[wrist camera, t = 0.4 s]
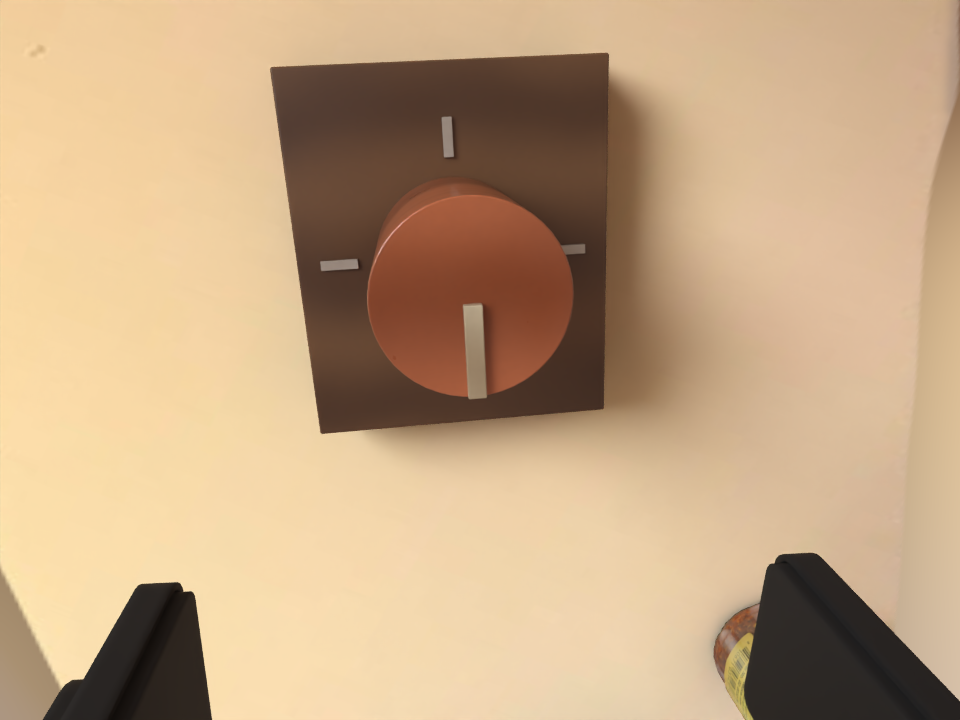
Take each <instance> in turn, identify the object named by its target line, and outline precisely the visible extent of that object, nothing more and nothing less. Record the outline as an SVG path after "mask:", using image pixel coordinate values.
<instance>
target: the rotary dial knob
mask: <svg viewBox="0 0 960 720" xmlns="http://www.w3.org/2000/svg"><path fill="white" fill-rule="evenodd" d="M573 294H574V292H573V279H572V274H571V270H570V266H569V263H568V260H567V257H566V254H565V253H564V251H563V249H562V247H561V245H560V243H559V241H558V240H557V238H556V237H555V236H554V234H553V233H552V231H551V230H550V229H549V228H548V227H547V226H546V225H545V224H544V223H543V222H542V221H541V220H540V219H538V218H537V217H536V216H535V215H534V214H532V213H531V212H529V211H528V210H527V209H525V208H524V207H522V206H521V205H519V204H518V203H516V202H515V201H513V200H512V199H510V198H509V197H508V196H506V195H505V194H503V193H502V192H500V191H499V190H497V189H495V188H494V187H492V186H490V185H488V184H486V183H484V182H481V181H478V180H474V179H471V178H464V177H446V178H439V179H435V180H431V181H428V182H426V183H424V184H421V185H419V186H417V187H416V188H414V189H412V190H411V191H409V192H408V193H407V194H405V195H404V196H403V197H402V198H401V199H400V200H399V201H398V202H397V203H396V204H395V205H394V206H393V208H392V209H391V211H390V212H389V213H388V215H387V217H386V219H385V221H384V222H383V225H382V228H381V230H380V233H379V238H378V242H377V246H376V250H375V255H374V259H373V263H372V268H371V272H370V276H369V281H368V290H367V307H368V314H369V319H370V323H371V326H372V330H373V333H374V335H375V337H376V339H377V342H378V344H379V346H380V347H381V349H382V350H383V352H384V353H385V355H386V356H387V358H388V359H389V360H390V361H391V362H392V364H393V365H394V366H395V367H396V368H397V369H398V370H400V371H401V372H402V373H403V374H404V375H405V376H407V377H408V378H410V379H411V380H413V381H414V382H416V383H417V384H419V385H421V386H423V387H425V388H427V389H430V390H433V391H436V392H439V393H443V394H447V395H452V396H462V397H468V398H469V399H479V398H487V395H490V394H494V393H497V392H501V391H504V390H506V389H509V388H511V387H514V386H516V385H517V384H519V383H521V382H523V381H524V380H526V379H527V378H529V377H530V376H532V375H533V374H534V373H536V372H537V371H538V370H539V369H540V368H541V367H542V366H543V365H544V364H545V363H546V362H547V361H548V360H549V359H550V357H551V356H552V355H553V354H554V352H555V351H556V349H557V348H558V346H559V344H560V343H561V341H562V339H563V337H564V335H565V333H566V330H567V327H568V324H569V321H570V318H571V313H572V307H573Z"/></svg>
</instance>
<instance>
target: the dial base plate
mask: <svg viewBox="0 0 960 720" xmlns="http://www.w3.org/2000/svg"><path fill="white" fill-rule="evenodd" d="M270 72H271V79H272V86H273V93H274V101H275V108H276V115H277V122H278V129H279V137H280V144H281V151H282V158H283V166H284V173H285V180H286V187H287V194H288V202H289V209H290V216H291V223H292V231H293V238H294V245H295V252H296V259H297V267H298V274H299V281H300V288H301V296H302V303H303V310H304V317H305V324H306V332H307V339H308V346H309V353H310V361H311V368H312V375H313V382H314V389H315V397H316V404H317V411H318V418H319V426H320V432H321V434H325V433H336V432H348V431H359V430H371V429H382V428H393V427H405V426H416V425H428V424H439V423H451V422H462V421H473V420H485V419H496V418H508V417H519V416H530V415H542V414H553V413H565V412H576V411H587V410H599V409H603V408H604V359H605V288H606V216H607V144H608V73H609V54H608V53H591V54H567V55H544V56H520V57H497V58H473V59H450V60H426V61H403V62H380V63H356V64H333V65H309V66H286V67H271V69H270ZM446 177H464V178H471V179H474V180H478V181H481V182H484V183H486V184H488V185H490V186H492V187H494V188H495V189H497V190H499V191H500V192H502V193H503V194H505V195H506V196H508V197H509V198H510V199H512V200H513V201H515V202H516V203H518V204H519V205H521V206H522V207H524V208H525V209H527V210H528V211H529V212H531V213H532V214H534V215H535V216H536V217H537V218H538V219H540V220H541V221H542V222H543V223H544V224H545V225H546V226H547V227H548V228H549V229H550V230H551V231H552V233H553V234H554V236H555V237H556V238H557V240H558V241H559V243H560V245H561V247H562V249H563V251H564V253H565V254H566V257H567V260H568V263H569V266H570V270H571V274H572V279H573V292H574V294H573V307H572V313H571V318H570V321H569V324H568V327H567V330H566V333H565V335H564V337H563V339H562V341H561V343H560V344H559V346H558V348H557V349H556V351H555V352H554V354H553V355H552V356H551V357H550V359H549V360H548V361H547V362H546V363H545V364H544V365H543V366H542V367H541V368H540V369H539V370H538V371H537V372H536V373H534V374H533V375H532V376H530V377H529V378H527V379H526V380H524V381H523V382H521V383H519V384H517V385H516V386H514V387H511V388H509V389H506V390H504V391H501V392H497V393H494V394H490V395H487V398H479V399H469V398H468V397H462V396H452V395H447V394H443V393H439V392H436V391H433V390H430V389H427V388H425V387H423V386H421V385H419V384H417V383H416V382H414V381H413V380H411V379H410V378H408V377H407V376H405V375H404V374H403V373H402V372H401V371H400V370H398V369H397V368H396V367H395V366H394V365H393V364H392V362H391V361H390V360H389V359H388V358H387V356H386V355H385V353H384V352H383V350H382V349H381V347H380V346H379V344H378V342H377V339H376V337H375V335H374V333H373V330H372V326H371V323H370V319H369V314H368V307H367V290H368V281H369V276H370V272H371V268H372V263H373V259H374V255H375V250H376V246H377V242H378V238H379V233H380V230H381V228H382V225H383V222H384V221H385V219H386V217H387V215H388V213H389V212H390V211H391V209H392V208H393V206H394V205H395V204H396V203H397V202H398V201H399V200H400V199H401V198H402V197H403V196H404V195H405V194H407V193H408V192H409V191H411V190H412V189H414V188H416V187H417V186H419V185H421V184H424V183H426V182H428V181H431V180H435V179H439V178H446Z"/></svg>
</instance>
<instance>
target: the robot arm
mask: <svg viewBox="0 0 960 720" xmlns="http://www.w3.org/2000/svg"><path fill="white" fill-rule="evenodd" d="M744 698H745V703H746V706H747V709H748V711H749V713H750V715H751V716H752V718H753V720H960V701H959V700H958V699H957V698H956V697H955V696H954V695H953V694H952V693H951V692H950V691H949V690H948V689H947V688H946V686H945V685H944V684H943V683H942V682H941V681H940V680H939V679H938V678H937V677H936V676H935V675H934V674H933V673H932V672H931V671H930V670H929V669H928V668H927V667H926V666H925V665H924V664H923V663H922V662H921V661H920V659H919V658H918V657H916V655H915V654H914V653H913V652H912V651H911V650H910V649H909V648H908V647H907V646H906V645H905V644H904V643H903V642H902V641H901V640H900V639H899V638H898V637H897V636H896V635H895V633H894V632H893V631H892V630H891V629H890V628H889V627H888V626H887V625H886V624H885V623H884V622H883V621H882V620H881V619H880V618H879V617H878V616H877V615H876V614H875V613H874V612H873V611H872V610H871V609H870V608H869V606H868V605H867V604H866V603H865V602H864V601H863V600H862V599H861V598H860V597H859V596H858V595H857V594H856V593H855V592H854V591H853V590H852V589H851V588H850V587H849V586H848V585H847V584H846V583H845V582H844V581H843V579H842V578H841V577H840V576H839V575H838V574H837V573H836V572H835V571H834V570H833V569H832V568H831V567H830V566H829V565H828V564H827V563H826V562H825V561H824V560H823V559H822V558H821V557H820V556H819V555H817V554H815V553H798V554H782V555H779V556H778V557H777V559H776V561H775V563H774V564H770V565H769V566H768V567H767V570H766V575H765V580H764V585H763V590H762V595H761V601H760V606H759V611H758V616H757V621H756V626H755V632H754V637H753V642H752V647H751V652H750V658H749V663H748V668H747V673H746V678H745V684H744ZM43 720H212V717H211V709H210V702H209V695H208V687H207V680H206V673H205V666H204V658H203V651H202V644H201V637H200V629H199V622H198V615H197V607H196V600H195V595H194V593H193V592H191V591H190V592H183V588H182V586H181V584H180V583H178V582H174V583H152V584H140V585H138V586H137V588H136V589H135V590H134V592H133V594H132V596H131V597H130V599H129V601H128V603H127V604H126V606H125V608H124V610H123V611H122V613H121V615H120V617H119V618H118V620H117V622H116V624H115V625H114V627H113V629H112V631H111V632H110V634H109V636H108V637H107V639H106V641H105V643H104V644H103V646H102V648H101V650H100V651H99V653H98V655H97V657H96V658H95V660H94V662H93V664H92V665H91V667H90V669H89V671H88V672H87V674H86V676H85V678H84V679H83V680H72V681H70V682H69V683H67V684H66V685H65V686H64V687H63V688H62V690H61V691H60V692H59V694H58V695H57V697H56V699H55V700H54V702H53V704H52V705H51V707H50V709H49V710H48V712H47V714H46V715H45V717H44V719H43Z"/></svg>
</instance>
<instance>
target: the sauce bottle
mask: <svg viewBox="0 0 960 720" xmlns="http://www.w3.org/2000/svg"><path fill="white" fill-rule="evenodd" d="M759 606H760V603H759V604H756V605H754V606H752V607H749V608H746V609H744V610H742V611H740V612H739V613H737V614H735V615H734V616H733V617H732V618H731V619H730V620H729V621H728V622H727V623H725V626H724V627H723V628H722V630H721V633H720V634H719V635H718V636H717V639H716V642H715V646H714V659H715V663H716V667H717V669H718V672H719V674H720V676H721V678H722V680H723V681H724V683H725V686H726V689H727V691H728V693H729V695H730V696H731V698H732V700H733V701H734V703H735V704H736V706H737V708H738V709H739V711H740V712H741V714H742V715H743V717H744V719H745V720H753V718H752V716H751V715H750V713H749V711H748V709H747V706H746V703H745V698H744V684H745V678H746V673H747V668H748V663H749V658H750V652H751V647H752V642H753V637H754V632H755V626H756V621H757V616H758V611H759Z"/></svg>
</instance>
